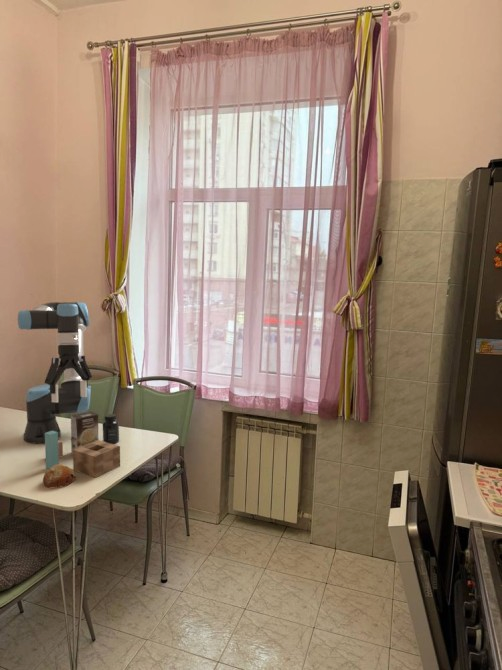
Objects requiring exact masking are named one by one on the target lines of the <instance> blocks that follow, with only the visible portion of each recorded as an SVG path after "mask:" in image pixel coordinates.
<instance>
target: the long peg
mask: <svg viewBox="0 0 502 670" xmlns="http://www.w3.org/2000/svg"><path fill="white" fill-rule="evenodd" d="M58 441H59V438H58V432H55V431H49V432H46V433H45V443H44V446H45V447H44V449H45V451H44V452H45V453H44V454H45V469H46V470H48V469H49V468H51V467H52V466H54V465H57V464H60V461H59V459H60V457H59V455H58Z"/></svg>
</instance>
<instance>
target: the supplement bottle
mask: <svg viewBox="0 0 502 670" xmlns="http://www.w3.org/2000/svg"><path fill="white" fill-rule="evenodd" d="M102 441H104V442H107V443H111V444H114V445H116V444H117V443H118V442H120V424H119V421H118V420H117V414H114V413H107V414H105V415H104V421H103V423H102Z"/></svg>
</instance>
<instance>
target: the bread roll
mask: <svg viewBox="0 0 502 670" xmlns="http://www.w3.org/2000/svg"><path fill="white" fill-rule="evenodd" d="M75 474H76V471H75V470H73V468H70V467H69V466H67V465H63V464H60V463H59V464H57V465H54V466H52V467H51V468H49V469H47V471H46V472H45V473H44V475H43V478H42V481H43V482H42V483H43V485H44V486H45V487H46V486H47V487H46V488H49V487H56V488H61V487H60V486H63V487H66V486H69V485H70V483H71V484H72V483H73V481H74V480H75V479H76V478H77V477H76V476H75ZM68 484H69V485H68ZM65 485H66V486H65Z"/></svg>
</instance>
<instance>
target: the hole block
mask: <svg viewBox="0 0 502 670" xmlns="http://www.w3.org/2000/svg"><path fill="white" fill-rule="evenodd" d="M72 465H73V466H72V470H74V472H78V473H80V474H84V475H87V476H90V477H92V478H94V479H95V478H99V477H100V476H102V475H105V474H107V473H109V472H111V471H113V470H115V469H117V468H119V467H121V446H120V445H117V444H111V443H107V442H104V441H103V440H100V439H98V440H97V441H94V442H91V443H89V444H86V445H84V446H81V447H78V448H76V449H73V453H72Z"/></svg>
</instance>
